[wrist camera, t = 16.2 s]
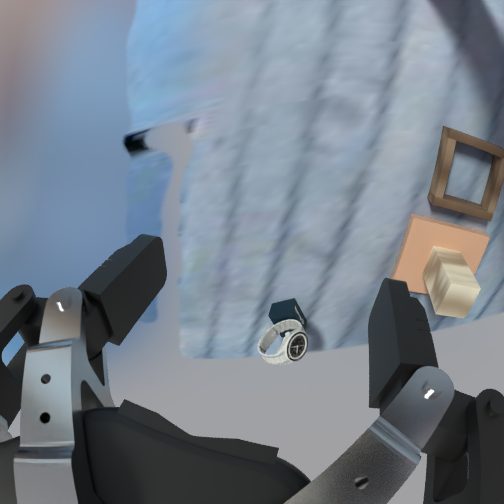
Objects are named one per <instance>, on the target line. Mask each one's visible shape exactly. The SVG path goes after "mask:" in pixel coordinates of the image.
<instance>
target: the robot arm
mask: <svg viewBox="0 0 504 504" xmlns="http://www.w3.org/2000/svg"><path fill="white" fill-rule="evenodd" d="M166 277H167V270H166V262H165V255H164V248H163V242H162V239H161V238H160V237H157V236H151V235H145V234H141V235H139V236H138V237H137V238H136V239H135V240H134V241H133V242H131V243H130V244H128V245H126V246H124V247H123V248H121V249H118V250H117V251H116V252H114V253H113V255H111V256H110V257H109V258H108V260H106V261H105V262H104V263H103V264H102V266H99V268H97V269H96V270H95V271H94V272H93V273H92V274H91V275H90V276H89V277H88V278H87V279H86V280H85V281H84V282H83V283H82V284H81V285H80V286H79V287H78V288H75V287H66V288H62V289H59V290H57V291H56V292H54V293H53V294H52V295H51V296H50V297H49V298H39V297H36V295H35V293H34V291H33V289H32V287H31V286H29V285H19V286H16V287H14V288H13V289H11V290H10V291H9V292H8V293H7V294H6V295H5V296H4V297H3V298H2V299H1V300H0V504H387V503H388V502H389V500H390V499H391V498H392V497H393V496H394V494H395V493H396V492H397V491H398V490H399V489H400V487H401V486H402V485H403V483H404V482H405V481H406V480H407V479H408V477H409V476H410V475H411V473H412V472H413V471H414V469H415V468H416V466H417V465H418V463H419V462H420V460H421V456H420V455H419V454H420V452H423V453H426V454H427V469H426V482H425V493H424V501H423V504H504V396H503V395H502V394H501V393H500V392H498V391H497V390H494V389H486V390H483V391H482V392H481V393H480V394H479V395H478V396H477V397H476V398H475V397H472V396H470V395H467V394H464V393H461V392H459V391H456V390H454V386H453V383H452V380H451V379H450V377H449V376H448V375H447V374H446V373H445V372H444V371H443V370H441V369H439V368H438V363H437V358H436V353H435V348H434V344H433V340H432V335H431V333H430V327H429V323H428V319H427V315H426V312H425V309H424V307H423V306H422V305H421V303H420V302H419V300H418V299H417V298H413V297H410V293H409V290H408V286H407V283H406V281H401V280H395V279H390V278H385V279H384V280H383V282H382V284H381V287H380V290H379V293H378V295H377V298H376V300H375V303H374V306H373V308H372V311H371V314H370V317H369V323H368V337H369V408H380V416H379V417H378V418H377V420H376V421H375V422H374V423H373V424H372V425H371V426H370V427H369V428H368V429H367V430H366V431H365V432H364V433H363V434H362V435H361V437H360V438H359V439H358V440H357V441H356V442H355V443H354V444H353V445H352V446H351V447H350V448H349V449H348V450H347V451H346V452H344V453H343V454H342V455H341V456H340V457H339V458H338V459H337V460H336V461H335V462H334V463H333V464H332V465H330V466H329V467H328V468H327V469H326V470H325V471H324V472H323V473H321V474H320V475H319V476H318V477H317V478H315V479H314V480H313V481H312V482H311V481H310V480H309V478H308V477H307V476H306V475H305V474H304V473H302V472H301V471H300V470H299V469H298V468H296V467H295V466H294V465H292V464H290V463H289V462H287V461H285V460H283V459H281V458H279V457H277V453H278V450H279V448H275V447H271V446H266V445H261V444H257V443H252V442H248V441H244V440H240V439H229V438H211V437H210V438H209V437H197V436H192V435H190V434H188V433H186V432H184V431H183V430H182V429H180V428H178V427H177V426H175V425H174V424H172V423H171V422H169V421H168V420H167V419H165V418H163V417H162V416H161V415H159V414H158V413H156V412H153V411H151V410H148V409H146V408H144V407H141V406H139V405H137V404H134V403H132V402H130V401H127V400H125V399H124V401H123V403H122V404H121V406H120V407H115V405H114V403H113V400H112V398H111V394H110V388H109V380H108V369H107V357H106V350H105V347H104V346H105V344H106V343H107V342H111V343H113V344H116V345H118V346H119V345H120V344H121V343H122V341H123V340H124V338H125V337H126V336H127V334H128V333H129V332H130V330H131V329H132V327H133V326H134V325H135V323H136V322H137V321H138V319H139V318H140V317H141V315H142V314H143V313H144V311H145V310H146V309H147V307H148V306H149V305H150V303H151V302H152V301H153V299H154V298H155V297H156V295H157V294H158V293H159V291H160V290H161V289H162V287H163V286H164V284H165V281H166ZM17 332H19V334H20V335H21V337H22V338H23V340H24V342H25V343H24V344H23V346H22V347H21V348H20V349H19V351H18V352H17V353H16V355H15V356H14V357H13V359H12V360H11V361H10V363H9V364H8V365H7V367H6V366H5V364H4V363H3V361H2V357H1V356H2V351H3V349H4V347H6V345H7V344H8V343H9V342H10V340H11V339H12V338H13V336H14V335H15V334H16V333H17ZM20 409H21V418H20V436H18V437H15V438H12V436H11V434H10V433H9V432H8V429H9V427H10V425H11V424H12V422H13V420H14V419H15V417H16V415H17V414H18V412H19V410H20Z"/></svg>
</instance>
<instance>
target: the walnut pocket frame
mask: <svg viewBox="0 0 504 504" xmlns="http://www.w3.org/2000/svg"><path fill="white" fill-rule="evenodd" d="M456 141H459V142H462V143H465V144H468V145H471V146H473V147H476V148H479V149H481V150H484V151H486V152H489V153H491V154H494V157H493V161H492V165H491V169H490V173H489V177H488V181H487V185H486V188H485V192H484V195H483V198H482V202H481V205H480V204H477V203H473V202H470V201H467V200H464V199H460V198H457V197H453V196H450V195H446V194H444V191H445V188H446V184H447V180H448V176H449V172H450V168H451V163H452V159H453V154H454V150H455V145H456ZM503 180H504V149H502V148H500V147H498V146H495V145H493V144H491V143H488V142H486V141H483V140H481V139H478V138H476V137H473V136H470V135H468V134H465V133H462V132H459V131H457V130H454V129H451V128H448V127H445V126H443V130H442V136H441V141H440V147H439V152H438V156H437V161H436V166H435V170H434V174H433V178H432V183H431V187H430V190H429V194H428V199H429V201H430V202H431V203H432V205H435V206H439V207H443V208H446V209H450V210H454V211H458V212H461V213H465V214H468V215H472V216H475V217H479V218H482V219H485V220H488V221H491V219H492V216H493V213H494V210H495V207H496V204H497V201H498V198H499V194H500V191H501V187H502V184H503Z"/></svg>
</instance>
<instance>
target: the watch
mask: <svg viewBox="0 0 504 504" xmlns="http://www.w3.org/2000/svg"><path fill="white" fill-rule="evenodd" d="M268 316H269V318H270V319H271V321H272V322H273V324H274V325H273V326H271V327H270V328H269V329H267V331H266V332H265V333H264V334H263V335H262V337H261V338H260V340H259V343H258V351H259V353H260V354H261V356H262V357H263V358H264V360H265V361H266V362H267V363H269V364H271V365H282V364H289V363H291V362H295V361H298V360H300V359H301V358H302V357H303V356H304V354H305V353H306V351H307V348H308V337H307V334H306V332H305V326H306V319H305V317H304V315H303V313H302V311H301V309H300V307H299V305H298V304H297V302H296V300H295V298H293V299H289V300H285V301H281V302H277V303H273V304H272V306H271V309H270V312H269V315H268ZM278 334H280V335H281V337H284V339H283V342H282V345H281V347H280V348H279V349H278V350H277V353H278V354H275V355H266V354H265V352H266V350H267V349H268V348H269V347H270V345H271V344H272V343H273V341H274V340H275V339H276V338H277V337H278Z"/></svg>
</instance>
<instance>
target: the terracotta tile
mask: <svg viewBox="0 0 504 504" xmlns="http://www.w3.org/2000/svg"><path fill="white" fill-rule="evenodd" d="M489 239H490V237H489V235H488V234H487V233H486V232H482V231H479V230H475V229H471V228H468V227H464V226H460V225H456V224H452V223H449V222H445V221H441V220H436V219H432V218H428V217H424V216H420V215H415V214H411V216H410V220H409V223H408V227H407V230H406V233H405V236H404V240H403V243H402V246H401V249H400V252H399V255H398V258H397V261H396V264H395V267H394V269H393V272H392V275H391V278H390V279H395V280H401V281H406V283H407V286H408V290H409V291H412V292H418V293H424V294H429V292H428V289H427V286H426V283H425V280H424V277H423V275H422V273H423V271H424V268H425V266H426V263H427V261H428V258H429V256H430V253H431V250H432V248H433V246H436V247H441V248H446V249H450V250H454V251H459V252H461V254H462V256H463V257H464V259H465V261H466V263H467V264H468V266H469V268H470V270H471V272H472V273H473V275H474V274H475V272H476V269H477V267H478V265H479V263H480V261H481V258H482V256H483V254H484V251H485V249H486V246H487V244H488V242H489Z"/></svg>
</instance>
